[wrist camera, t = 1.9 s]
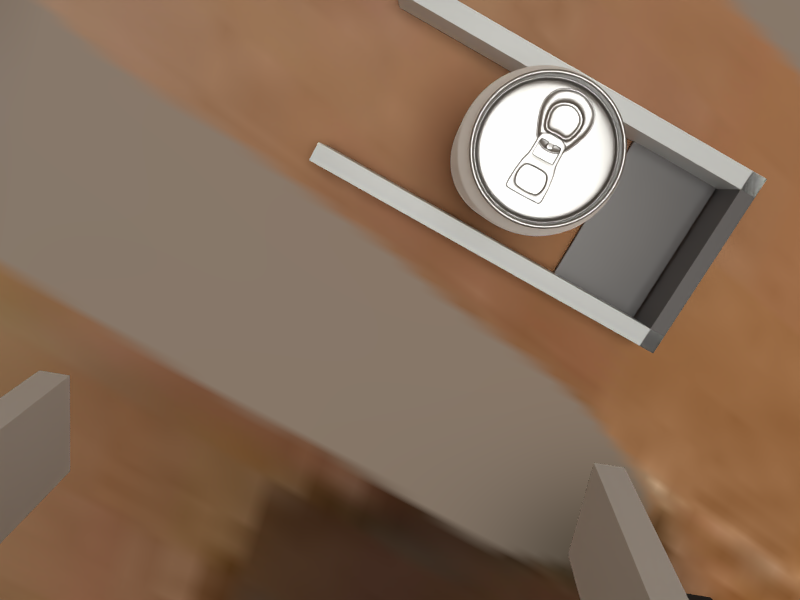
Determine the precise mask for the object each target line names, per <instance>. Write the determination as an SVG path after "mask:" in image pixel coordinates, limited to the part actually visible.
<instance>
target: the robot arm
mask: <svg viewBox="0 0 800 600" xmlns="http://www.w3.org/2000/svg"><path fill="white" fill-rule="evenodd" d="M69 472H70V376H69V375H63V374H57V373H51V372H45V371H38V372H37V373H35V374H34V375H32V376H31V377H29V378H28V379H27V380H25V381H24V382H22V383H21V384H20V385H18V386H17V387H15V388H14V389H12V390H11V391H10V392H8V393H7V394H5V395H4V396H3V397H1V398H0V543H1V542H2V541H3V540H4V539H5V538H6V537H7V536H8V535H9V534H10V533H11V532H12V531H13V530H14V529H15V528H16V527H17V526H18V524H19V523H20V522H21V521H22V520H23V519H24V518H25V517H26V516H27V515H28V514H29V513H30V512H31V511H32V510H33V509H34V508H35V507H36V506H37V505H38V504H39V503H40V502H41V501H42V500H43V499H44V498H45V497H46V496H47V494H48V493H49V492H50V491H51V490H52V489H53V488H54V487H55V486H56V485H57V484H58V483H59V482H60V481H61V480H62V479H63V478H64V477H65V476H66V475H67V474H68V473H69ZM568 556H569V560H570V563H571V567H572V571H573V574H574V578H575V582H576V585H577V589H578V593H579V596H580V600H712V599H711V598H710V597H704V596H698V595H692V594H686V593H685V591H684V589H683V587H682V585H681V583H680V581H679V579H678V576H677V574H676V572H675V570H674V568H673V566H672V564H671V562H670V560H669V558H668V556H667V554H666V552H665V550H664V548H663V546H662V544H661V541H660V539H659V537H658V535H657V533H656V531H655V529H654V527H653V525H652V523H651V521H650V519H649V517H648V515H647V513H646V511H645V509H644V506H643V504H642V502H641V500H640V498H639V496H638V494H637V492H636V490H635V488H634V486H633V484H632V482H631V480H630V478H629V476H628V474H627V471H626V469H625V468H624V467H618V466H611V465H606V464H600V463H594V464H593V467H592V471H591V474H590V478H589V482H588V485H587V489H586V492H585V496H584V499H583V503H582V507H581V510H580V513H579V517H578V521H577V524H576V528H575V531H574V535H573V539H572V542H571V545H570V549H569V553H568Z"/></svg>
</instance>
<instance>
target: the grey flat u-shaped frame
mask: <svg viewBox="0 0 800 600" xmlns="http://www.w3.org/2000/svg"><path fill="white" fill-rule="evenodd" d="M398 2H399V7H400V8H401V9H403V10H405V11H407V12H408V13H410V14H412V15H413V16H415V17H417V18H419V19H420V20H422V21H424V22H426V23H427V24H429V25H431V26H433V27H434V28H436V29H438V30H440V31H441V32H443V33H445V34H447V35H448V36H450V37H452V38H453V39H455V40H457V41H459V42H460V43H462V44H464V45H466V46H467V47H469V48H471V49H473V50H474V51H476V52H478V53H480V54H481V55H483V56H485V57H487V58H488V59H490V60H492V61H493V62H495V63H497V64H499V65H500V66H502V67H504V68H506V69H507V70H509V71H511V72H513V71H515V70H518V69H522V68H525V67H530V66H538V65H552V66H559V67H564V68H568V69H571V70H574V71H576V72H579V73H581V74H583V75H585V76H586V77H588V78H589V79H591V80H592V81H594V82H595V83H596V84H597V85H599V86H600V87H601V88H602V89H603V90H604V91H605V92H606V93H607V94H608V95H609V96H610V98H611V99H612V100H613V102H614V103H615V105H616V106H617V108H618V110H619V112H620V114H621V117H622V119H623V123H624V126H625V131H626V138H627V139H629V140H631V141H633V142H632V143H631V145H630V147H629V148H628V150H627V154H626V161H625V165H624V169H623V172H622V175H621V177H620V180H619V182H618V184H617V187H616V189H615V190H614V192H613V194H612V195H611V197H610V198H609V200H608V201H607V202H606V204H605V205H604V206H603V207H602V208H601V209H600V210H599V211H598V212H597V213H596V214H595V215H594V216H592V217H591V218H590V219H589V220H587V221H586V222H584V223H583V224H582V226H581V227H580V229H579V231H578V232H577V234H576V236H575V237H574V239H573V241H572V242H571V244H570V246H569V247H568V249H567V251H566V252H565V254H564V256H563V257H562V259H561V260H560V262H559V264H558V265H557V267H556V269H555V270H554V272H552V271H550V270H548V269H546V268H544V267H543V266H541V265H539V264H537V263H536V262H534V261H532V260H530V259H528V258H527V257H525V256H523V255H521V254H520V253H518V252H516V251H514V250H512V249H511V248H509V247H507V246H505V245H504V244H502V243H500V242H498V241H496V240H495V239H493V238H491V237H489V236H488V235H486V234H484V233H482V232H481V231H479V230H477V229H475V228H473V227H472V226H470V225H468V224H466V223H465V222H463V221H461V220H459V219H457V218H456V217H454V216H452V215H450V214H449V213H447V212H445V211H443V210H441V209H440V208H438V207H436V206H434V205H433V204H431V203H429V202H427V201H425V200H424V199H422V198H420V197H418V196H417V195H415V194H413V193H411V192H409V191H408V190H406V189H404V188H402V187H401V186H399V185H397V184H395V183H393V182H392V181H390V180H388V179H386V178H385V177H383V176H381V175H379V174H377V173H376V172H374V171H372V170H370V169H369V168H367V167H365V166H363V165H362V164H360V163H358V162H356V161H354V160H353V159H351V158H349V157H347V156H346V155H344V154H342V153H340V152H338V151H337V150H335V149H333V148H331V147H330V146H328V145H325V144H322V143H319V142H318V144H317V146H316V148H315V150H314V152H313V154H312V156H311V158H310V161H312V162H313V163H315V164H317V165H319V166H320V167H322V168H324V169H326V170H328V171H329V172H331V173H333V174H335V175H336V176H338V177H340V178H342V179H344V180H345V181H347V182H349V183H351V184H352V185H354V186H356V187H358V188H360V189H361V190H363V191H365V192H367V193H369V194H370V195H372V196H374V197H376V198H377V199H379V200H381V201H383V202H385V203H386V204H388V205H390V206H392V207H393V208H395V209H397V210H399V211H401V212H402V213H404V214H406V215H408V216H410V217H411V218H413V219H415V220H417V221H418V222H420V223H422V224H424V225H426V226H427V227H429V228H431V229H433V230H434V231H436V232H438V233H440V234H442V235H443V236H445V237H447V238H449V239H450V240H452V241H454V242H456V243H458V244H459V245H461V246H463V247H465V248H467V249H468V250H470V251H472V252H474V253H475V254H477V255H479V256H481V257H483V258H484V259H486V260H488V261H490V262H491V263H493V264H495V265H497V266H499V267H500V268H502V269H504V270H506V271H507V272H509V273H511V274H513V275H515V276H516V277H518V278H520V279H522V280H524V281H525V282H527V283H529V284H531V285H532V286H534V287H536V288H538V289H540V290H541V291H543V292H545V293H547V294H548V295H550V296H552V297H554V298H556V299H557V300H559V301H561V302H563V303H564V304H566V305H568V306H570V307H572V308H573V309H575V310H577V311H579V312H581V313H582V314H584V315H586V316H588V317H589V318H591V319H593V320H595V321H597V322H598V323H600V324H602V325H604V326H605V327H607V328H609V329H611V330H613V331H614V332H616V333H618V334H620V335H621V336H623V337H625V338H627V339H629V340H630V341H632V342H634V343H636V344H638V345H639V346H641V347H643V348H645V349H646V350H648V351H650V352H652V353H654V351H655V350H656V348H657V347H658V345H659V343H660V342H661V340H662V339H663V337H664V336H665V334H666V333H667V331H668V330H669V328H670V327H671V325H672V324H673V322H674V321H675V319H676V317H677V316H678V314H679V313H680V311H681V310H682V308H683V307H684V305H685V304H686V302H687V301H688V299H689V298H690V296H691V294H692V293H693V291H694V290H695V288H696V287H697V285H698V284H699V282H700V281H701V279H702V278H703V276H704V275H705V273H706V272H707V270H708V268H709V267H710V265H711V264H712V262H713V261H714V259H715V258H716V256H717V255H718V253H719V252H720V250H721V249H722V247H723V246H724V244H725V242H726V241H727V239H728V238H729V236H730V235H731V233H732V232H733V230H734V229H735V227H736V226H737V224H738V223H739V221H740V219H741V218H742V216H743V215H744V213H745V212H746V210H747V209H748V207H749V206H750V204H751V203H752V201H753V200H754V198H755V197H756V195H757V193H758V192H759V190H760V189H761V187H762V186H763V184H764V183H765V181H766V180H767V179H766V178H764V177H762V176H760V175H759V174H757V173H755V172H753V171H752V170H750V169H748V168H746V167H745V166H743V165H741V164H740V163H738V162H736V161H734V160H733V159H731V158H729V157H727V156H726V155H724V154H722V153H721V152H719V151H717V150H715V149H714V148H712V147H710V146H708V145H707V144H705V143H703V142H701V141H700V140H698V139H696V138H695V137H693V136H691V135H689V134H688V133H686V132H684V131H682V130H681V129H679V128H677V127H676V126H674V125H672V124H670V123H669V122H667V121H665V120H663V119H662V118H660V117H658V116H656V115H655V114H653V113H651V112H650V111H648V110H646V109H644V108H643V107H641V106H639V105H637V104H636V103H634V102H632V101H631V100H629V99H627V98H625V97H624V96H622V95H620V94H618V93H617V92H615V91H613V90H611V89H610V88H608V87H606V86H605V85H603V84H601V83H599V82H598V81H596V80H594V79H592V78H591V77H589V76H587V75H586V74H584V73H582V72H580V71H579V70H577V69H575V68H573V67H572V66H570V65H568V64H566V63H565V62H563V61H561V60H560V59H558V58H556V57H554V56H553V55H551V54H549V53H547V52H546V51H544V50H542V49H541V48H539V47H537V46H535V45H534V44H532V43H530V42H528V41H527V40H525V39H523V38H521V37H520V36H518V35H516V34H515V33H513V32H511V31H509V30H508V29H506V28H504V27H502V26H501V25H499V24H497V23H496V22H494V21H492V20H490V19H489V18H487V17H485V16H483V15H482V14H480V13H478V12H476V11H475V10H473V9H471V8H470V7H468V6H466V5H464V4H463V3H461V2H459V1H457V0H398Z"/></svg>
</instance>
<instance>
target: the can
mask: <svg viewBox="0 0 800 600" xmlns="http://www.w3.org/2000/svg"><path fill="white" fill-rule="evenodd" d="M626 154H627V138H626V131H625V126H624V123H623V119H622V117H621V114H620V112H619V110H618V108H617V106H616V105H615V103H614V102H613V100H612V99H611V98H610V96H609V95H608V94H607V93H606V92H605V91H604V90H603V89H602V88H601V87H600V86H599V85H597V84H596V83H595V82H594V81H592V80H591V79H589V78H588V77H586V76H585V75H583V74H581V73H579V72H576V71H574V70H571V69H568V68H564V67H559V66H552V65H538V66H530V67H525V68H522V69H518V70H515V71H513V72H510V73H508V74H506V75H504V76H502V77H500V78H499V79H497V80H496V81H494V82H493V83H492V84H490V85H489V86H488V87H487V88H486V89H484V90H483V91H482V92H481V93H480V95H479V96H478V97H477V98H476V99H475V101H474V102H473V103H472V105H471V106H470V108H469V109H468V111H467V113H466V114H465V116H464V118H463V120H462V122H461V124H460V127H459V129H458V131H457V134H456V136H455V139H454V142H453V145H452V150H451V157H450V166H451V174H452V178H453V182H454V184H455V187H456V189H457V191H458V193H459V195H460V196H461V198H462V199H463V200H464V201H465V203H466V204H467V205H468V206H469V207H470V208H471V209H473V210H474V211H475V212H476V213H478V214H479V215H480V216H482V217H483V218H485V219H486V220H488V221H489V222H491V223H493V224H495V225H496V226H498V227H500V228H502V229H505V230H507V231H510V232H513V233H517V234H521V235H527V236H547V235H554V234H558V233H562V232H565V231H568V230H571V229H573V228H575V227H577V226H579V225H581V224H582V223H584V222H586V221H587V220H589V219H590V218H591V217H592V216H594V215H595V214H596V213H597V212H598V211H599V210H600V209H601V208H602V207H603V206H604V205H605V204H606V202H607V201H608V200H609V198H610V197H611V195H612V194H613V192H614V190H615V189H616V187H617V184H618V182H619V180H620V177H621V175H622V172H623V169H624V165H625V161H626Z"/></svg>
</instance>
